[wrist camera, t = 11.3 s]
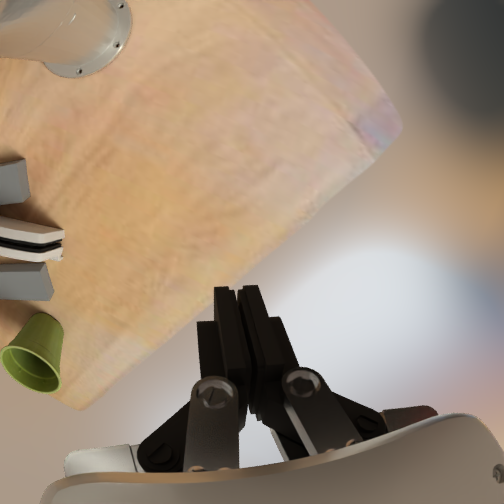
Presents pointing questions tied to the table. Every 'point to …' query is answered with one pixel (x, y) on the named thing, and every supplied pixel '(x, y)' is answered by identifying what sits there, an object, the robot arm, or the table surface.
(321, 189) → the table surface
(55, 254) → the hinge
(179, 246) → the table surface
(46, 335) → the plant pot
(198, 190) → the table surface
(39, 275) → the gray u-shaped block
